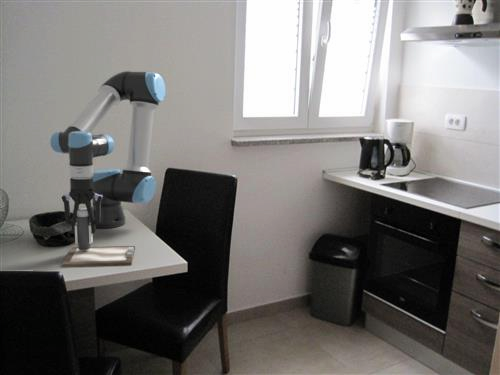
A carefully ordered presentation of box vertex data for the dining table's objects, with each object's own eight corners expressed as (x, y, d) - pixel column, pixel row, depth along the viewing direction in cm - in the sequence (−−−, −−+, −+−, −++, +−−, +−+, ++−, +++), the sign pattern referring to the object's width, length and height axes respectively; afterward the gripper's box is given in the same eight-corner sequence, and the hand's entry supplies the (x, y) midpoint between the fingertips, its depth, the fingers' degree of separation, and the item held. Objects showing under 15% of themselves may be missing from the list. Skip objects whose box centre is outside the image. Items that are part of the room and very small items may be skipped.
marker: (79, 246, 169) (77, 208, 166) (91, 246, 170) (90, 208, 167) (76, 250, 165) (75, 211, 162) (89, 250, 166) (88, 211, 163)
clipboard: (72, 249, 171) (72, 243, 171) (135, 248, 175) (135, 242, 174) (62, 266, 156) (62, 260, 156) (131, 264, 159) (131, 258, 159)
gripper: (52, 179, 157) (56, 246, 162) (105, 179, 160) (107, 245, 165) (58, 174, 165) (61, 239, 169) (108, 175, 167) (110, 238, 172)
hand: (84, 242), depth 167 cm, fingers closed on marker, 4 cm apart
